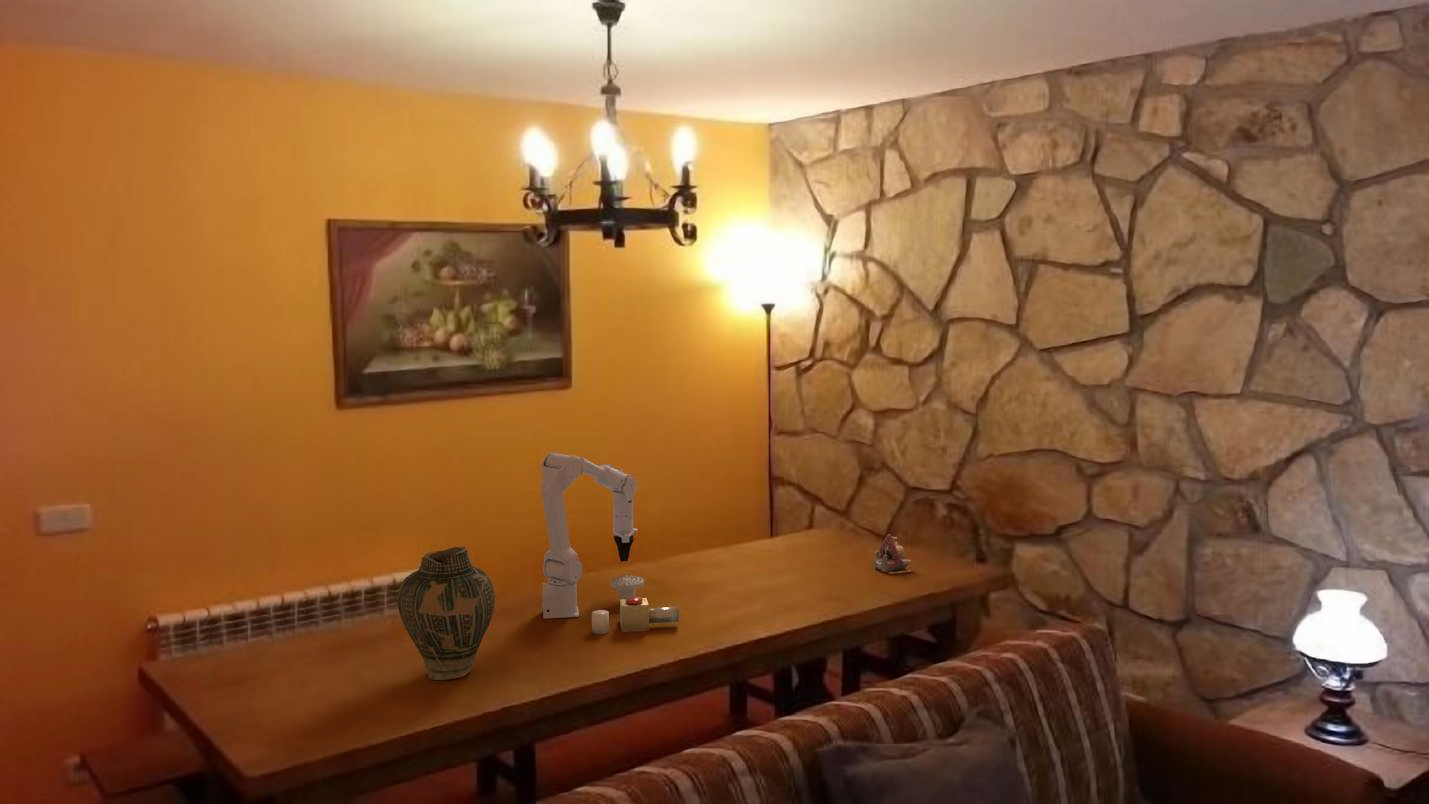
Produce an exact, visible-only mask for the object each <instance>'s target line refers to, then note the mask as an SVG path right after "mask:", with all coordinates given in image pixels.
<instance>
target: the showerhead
mask: <svg viewBox="0 0 1429 804" xmlns="http://www.w3.org/2000/svg"><path fill="white" fill-rule="evenodd" d="M609 584H610V587H611V588H612V589H615V590H618V596H619V597H620V598H621V599H626V598H628V597H636V595H637V590H638V589H640V588H643V587H644V585H645V579H644V578H643V577H640V576H639V575H638V576H636V575H630V574H629V575H625V574H624V575H620V576H616V577H614V578H611V579H610V581H609Z"/></svg>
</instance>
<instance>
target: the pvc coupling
mask: <svg viewBox="0 0 1429 804" xmlns="http://www.w3.org/2000/svg"><path fill="white" fill-rule="evenodd" d="M609 617H610V612H609V611H608V610H605V609H598V610H597V609H596V610H593V611H592V612H591V632H592V634H597V635H605V634H608V633H609V632H610V619H609Z"/></svg>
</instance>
